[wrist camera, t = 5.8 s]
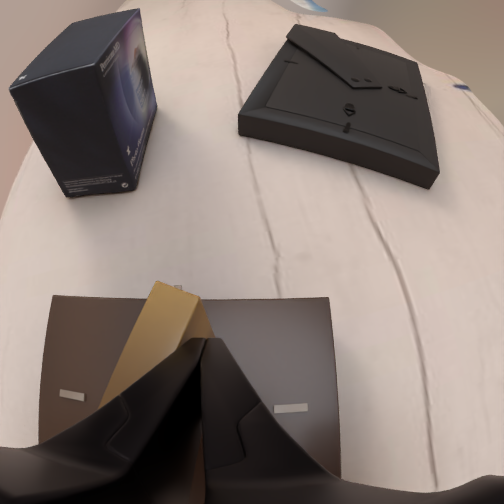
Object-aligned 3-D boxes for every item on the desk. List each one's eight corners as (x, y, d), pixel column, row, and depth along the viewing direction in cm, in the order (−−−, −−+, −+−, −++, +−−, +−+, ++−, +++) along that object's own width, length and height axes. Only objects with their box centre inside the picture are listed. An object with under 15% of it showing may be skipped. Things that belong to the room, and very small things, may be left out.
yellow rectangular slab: (188, 329, 13) (153, 276, 8) (217, 341, 13) (199, 293, 8) (130, 468, 10) (62, 493, 5) (159, 483, 10) (105, 520, 5)
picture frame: (293, 42, 33) (238, 134, 24) (295, 23, 31) (237, 106, 21) (412, 75, 31) (429, 189, 22) (418, 58, 29) (444, 166, 19)
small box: (141, 192, 21) (96, 61, 12) (64, 201, 21) (1, 92, 11) (161, 105, 26) (143, 3, 17) (98, 115, 26) (68, 23, 17)
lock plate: (315, 305, 17) (328, 283, 15) (325, 502, 12) (342, 519, 9) (78, 303, 17) (53, 282, 14) (68, 483, 12) (38, 491, 9)
